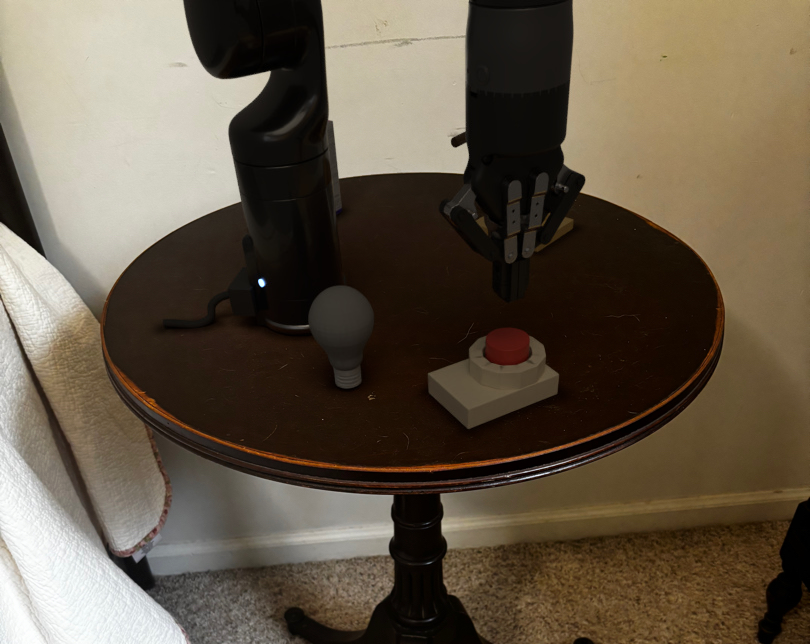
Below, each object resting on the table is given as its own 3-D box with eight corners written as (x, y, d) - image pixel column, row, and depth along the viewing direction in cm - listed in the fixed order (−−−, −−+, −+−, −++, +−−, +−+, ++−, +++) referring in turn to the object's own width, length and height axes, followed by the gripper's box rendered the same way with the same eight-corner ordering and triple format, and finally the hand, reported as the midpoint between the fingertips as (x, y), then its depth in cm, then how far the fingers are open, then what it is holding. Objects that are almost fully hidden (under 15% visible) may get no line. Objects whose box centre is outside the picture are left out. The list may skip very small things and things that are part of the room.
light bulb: (371, 404, 75) (362, 307, 68) (310, 400, 76) (295, 304, 69) (385, 370, 79) (378, 275, 72) (327, 366, 80) (314, 272, 73)
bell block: (468, 429, 72) (468, 392, 69) (428, 392, 76) (426, 356, 73) (557, 394, 75) (561, 357, 72) (514, 360, 79) (516, 324, 77)
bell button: (501, 372, 72) (502, 355, 70) (476, 352, 74) (477, 335, 73) (537, 358, 73) (538, 341, 72) (512, 339, 75) (513, 322, 74)
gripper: (560, 46, 62) (546, 262, 74) (411, 79, 57) (422, 302, 69) (625, 66, 57) (598, 293, 69) (467, 103, 53) (468, 338, 65)
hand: (509, 297), depth 69 cm, fingers closed
